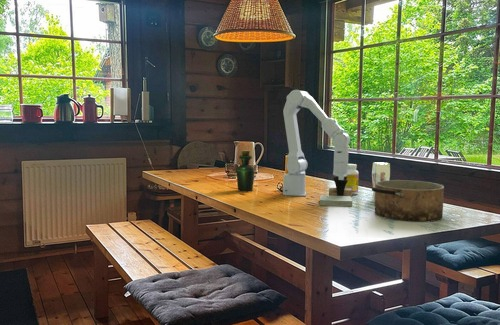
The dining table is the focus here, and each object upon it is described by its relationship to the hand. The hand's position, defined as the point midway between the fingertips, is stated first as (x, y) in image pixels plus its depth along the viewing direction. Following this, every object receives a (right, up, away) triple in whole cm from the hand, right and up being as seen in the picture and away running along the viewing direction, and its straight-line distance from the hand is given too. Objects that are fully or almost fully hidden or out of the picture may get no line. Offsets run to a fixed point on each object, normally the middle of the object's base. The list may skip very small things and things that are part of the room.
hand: (339, 195), depth 195 cm
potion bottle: (-39, +1, +17) cm, 42 cm away
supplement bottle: (+7, 0, +12) cm, 14 cm away
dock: (-4, -3, -10) cm, 11 cm away
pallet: (0, -1, 0) cm, 1 cm away
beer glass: (+16, -2, -2) cm, 16 cm away
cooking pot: (+18, -5, -30) cm, 35 cm away
